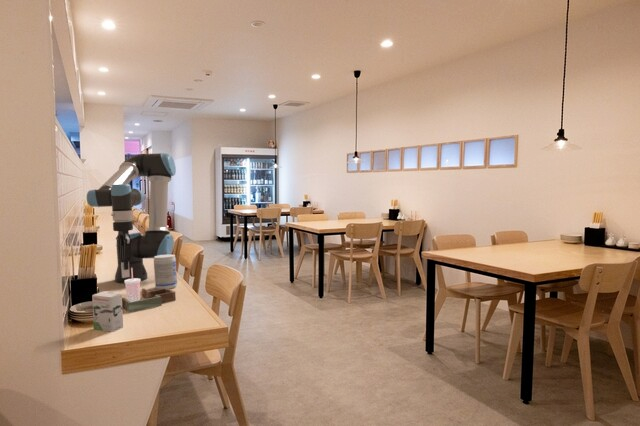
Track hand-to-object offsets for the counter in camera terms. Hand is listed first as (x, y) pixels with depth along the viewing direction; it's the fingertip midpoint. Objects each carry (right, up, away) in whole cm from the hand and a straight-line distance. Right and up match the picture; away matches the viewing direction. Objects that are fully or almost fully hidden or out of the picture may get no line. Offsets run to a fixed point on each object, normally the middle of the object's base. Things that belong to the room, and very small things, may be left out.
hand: (125, 277), depth 180 cm
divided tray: (+8, -9, -8) cm, 15 cm away
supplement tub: (+11, -8, +18) cm, 22 cm away
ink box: (+11, -12, -37) cm, 40 cm away
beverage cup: (+6, -10, -5) cm, 12 cm away
